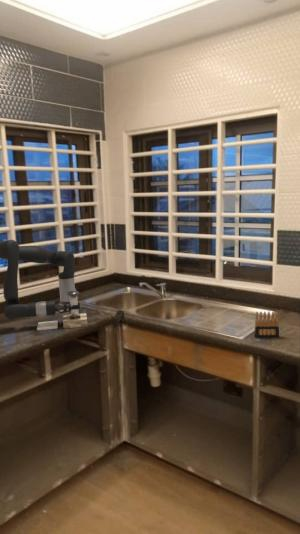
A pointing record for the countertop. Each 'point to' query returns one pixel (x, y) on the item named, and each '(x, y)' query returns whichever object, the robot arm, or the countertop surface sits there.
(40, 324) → the pad
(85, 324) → the eye block
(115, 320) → the hand tool
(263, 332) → the ammunition clip
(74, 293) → the steel hook peg
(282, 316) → the countertop surface
